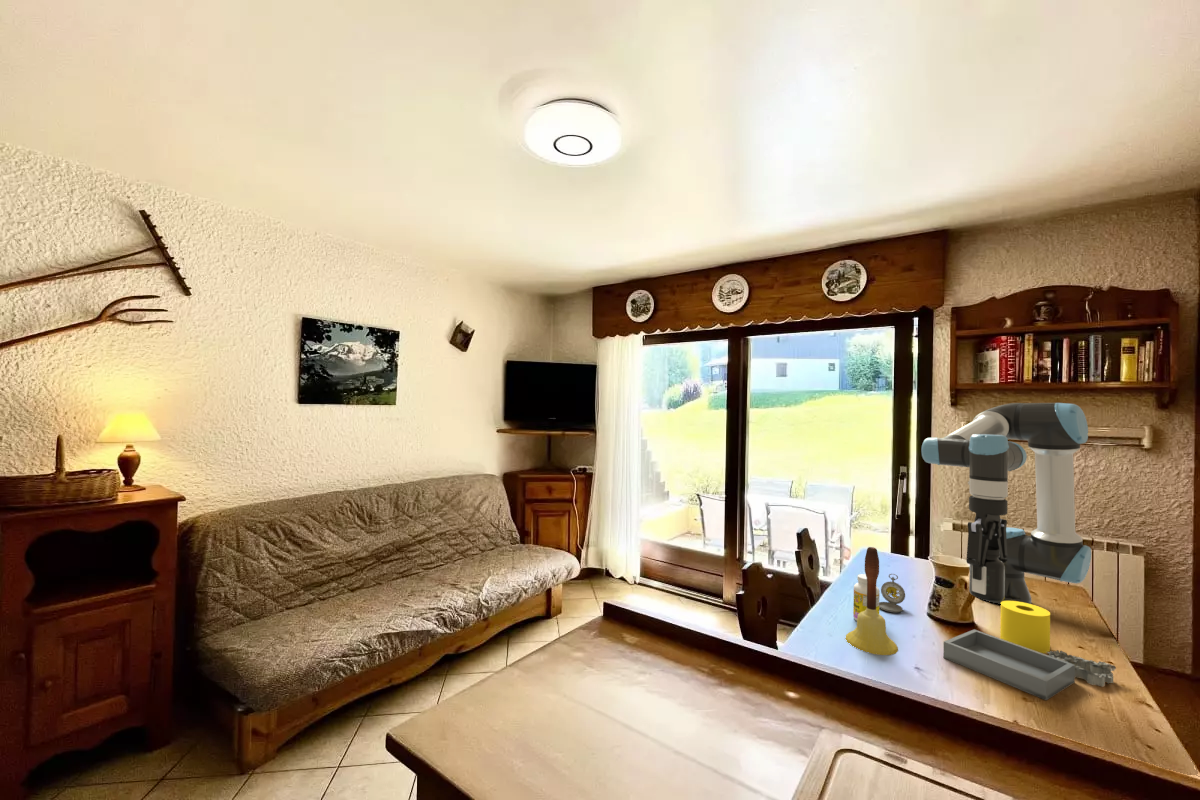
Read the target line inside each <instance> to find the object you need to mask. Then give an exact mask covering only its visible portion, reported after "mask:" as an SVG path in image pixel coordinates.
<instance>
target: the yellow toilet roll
mask: <svg viewBox="0 0 1200 800" xmlns="http://www.w3.org/2000/svg"><path fill="white" fill-rule="evenodd" d="M999 615H1000V621H999V622H1000V627H999V628H1000V631H999V632H1000V633H999V635H1000V637H999V638H1000V639H1003V640H1006V641H1009V642H1012V643H1014V644H1017V645H1020V646H1023V647H1026V648H1029V649H1031V650H1034V651H1037V652H1040V653H1043V654H1048V653H1047V652H1049V651H1051V612H1050V611H1049V610H1047V609H1046V608H1043V607H1041V606H1038V605H1035V604H1032V603H1031V604H1028V603H1024V602H1018V601H1002V602H1001V605H1000V614H999ZM1046 651H1047V652H1046Z"/></svg>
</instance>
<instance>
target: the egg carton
mask: <svg viewBox="0 0 1200 800" xmlns="http://www.w3.org/2000/svg"><path fill="white" fill-rule="evenodd" d="M1046 652H1047V651H1046ZM1046 654H1047V655H1048V656H1051V657H1054V658H1057V659H1060V660H1063V661H1065V662H1068V663H1071V664H1074V665H1075V678H1079V679H1082V680H1085V681H1086V683H1087V684H1089V685H1092V686H1098V687H1101V688H1103V687H1105V686H1106V684H1109V683H1113V684H1114V673H1113V672H1114V671H1115V670H1116V669H1117V668H1116V666H1115V665H1113V664H1111V663H1108V662H1105V661H1100V660H1099V661H1098V662H1096V661H1094V660H1092V659H1090V660H1088V659H1085V658H1082V657H1079V656H1077V655H1076V656H1075V655H1071V654H1068V653H1067V652H1066V651H1062V650H1060V651H1059V650H1058V649H1057V650H1053V651H1052V650H1050V652H1047V653H1046ZM1105 682H1107V683H1105Z"/></svg>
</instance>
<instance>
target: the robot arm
mask: <svg viewBox="0 0 1200 800" xmlns="http://www.w3.org/2000/svg"><path fill="white" fill-rule="evenodd" d="M1088 433H1089V427H1088V420H1087V417H1086V415H1085V413H1084V410H1083V409H1082V408H1081V407H1080V406H1079V405H1077V404H1075V403H1068V402H1067V403H1065V402H1064V403H1063V402H1011V403H1005V404H1001V405H998V406H995V407H992V408H991V407H990V408H989V409H986V410H984V411H982V412H980V413H978V414H976V415H975V416H974V418H973V419H972V421H970V422H969V423H967V424H965V425H964V426H962V427H960V428H959V429H956V430H955V431H952V432H950V433H949V434H947V435H945V436H944V437H936V436H935V437H927V438H925V439H924V440H923V442H922V445H921V457H922V459H923V460H924V462H925V463H928V464H931V465H933V464H934V465H938V466H948V467H949V466H950V467H959V468H969V469H968V470H969V471H968V472H969V480H968V481H967V484H968V486H969V489H968V491H969V494H970V495H969V497H968V510H969V511H970V512H971V513H972V512H973V513H974V514H975V517H974V522H970V521H968V523H967V530H968V532H967V534H968V535H967V544H966V545H967V547H966V563H967V564H968V565H970V564H971V565H972V591H974V592H977V593H980V594H984V595H985V594H986V567H984V564H985V558H986V553H987V548H988V546H991V547H995V548H998V549H999V550H1000V557H999V560H1001V561H1002V562H1003V563H1004V565H1005V595H1004V600H1002V601H1018V602H1024V603H1028V604H1032V595H1031V593H1030V591H1029V588H1028V586H1027V583H1026V581H1025V580H1026V579H1025V573H1026V574H1029V575H1036V576H1037V577H1038V576H1039V577H1043V578H1048V579H1050V580H1051V579H1052V580H1055V581H1060V582H1065V583H1071V584H1080V583H1082V582H1083V581H1084V580H1085V579H1086V577H1087V574H1088V572H1089V569H1090V567H1091V560H1092V548H1091V547H1090V546H1089V545H1086V544H1085V545H1084V544H1083V543H1084V542H1083V537H1082V536H1081V535H1079V534H1078V533H1077V532H1076V514H1075V513H1076V510H1075V504H1076V503H1075V475H1074V474H1075V472H1074V471H1075V468H1074V454H1075V453H1077V452H1078V451H1079V450H1080V449H1081V445H1082V444H1085V443H1087V442H1088V439H1089V434H1088ZM1008 440H1009V441H1008ZM1010 440H1017V441H1018V440H1019V441H1027V447H1028V448H1029V449H1030V450H1031V451H1032V452H1034V466H1035V469H1034V470H1035V472H1034V473H1035V497H1036V498H1035V499H1036V527H1037V528H1035V529H1033V530H1032V531H1030V535H1026V532H1025V530H1024V529H1022V528H1018V527H1017V528H1016V527H1007V525H1008V521H1007V519H1003V518H1001V516H1006V515H1007V514H1008V503H1009V502H1008V500H1007V499H1006V498H1007V497H1008V496H1009V485H1008V484H1009V480H1008V475H1009V472H1013V471H1015V470H1017V469H1020V468H1021V467H1022V466H1024V465H1025V463H1026V461H1027V457H1028V455H1027V452H1026V450H1025V448H1024V447H1023V446H1022V445H1020V444H1019V443H1017V442H1013V441H1010ZM984 600H985V599H983V600H982V601H984ZM987 601H990V600H986V601H985V602H987ZM1002 601H990V602H993V603H992V604H994V603H998V604H1001V602H1002ZM990 602H989V603H990ZM998 604H997V605H998Z"/></svg>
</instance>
